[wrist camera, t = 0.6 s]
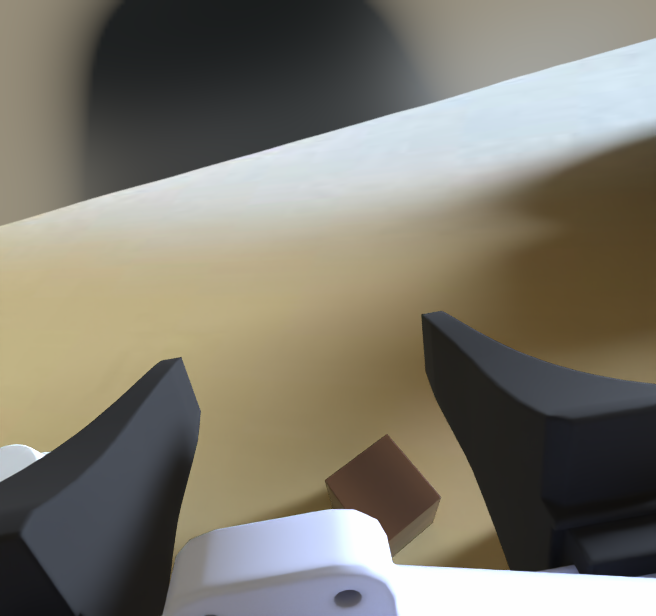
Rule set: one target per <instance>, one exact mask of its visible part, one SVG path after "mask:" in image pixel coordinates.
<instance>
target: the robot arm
mask: <svg viewBox="0 0 656 616" xmlns="http://www.w3.org/2000/svg"><path fill="white" fill-rule="evenodd" d="M421 316H422V330H423V343H424V357H425V370H426V374H427V377H428V380H429V382H430V385H431V388H432V391H433V393H434V396H435V399H436V401H437V403H438V405H439V406H440V408H441V410H442V412H443V414H444V416H445V418H446V420H447V422H448V424H449V425H450V427H451V429H452V431H453V433H454V435H455V437H456V439H457V440H458V442H459V444H460V446H461V448H462V450H463V452H464V454H465V455H466V458H467V460H468V462H469V464H470V466H471V468H472V470H473V473H474V475H475V478H476V480H477V483H478V485H479V488H480V490H481V493H482V495H483V498H484V500H485V503H486V506H487V508H488V511H489V514H490V516H491V519H492V522H493V524H494V527H495V530H496V532H497V535H498V538H499V541H500V543H501V546H502V549H503V552H504V554H505V557H506V560H507V563H508V566H509V568H510V570H491V569H472V568H452V567H433V566H414V565H395V564H394V563H393V562H392V558H391V553H390V549H389V544H388V539H387V535H386V534H385V532H384V530H383V529H382V527H381V525H380V524H379V522H378V520H377V519H374V518H372V517H370V516H368V515H366V514H363V513H361V512H359V511H357V510H354V509H327V510H322V511H316V512H311V513H305V514H299V515H294V516H288V517H283V518H277V519H271V520H266V521H260V522H255V523H249V524H243V525H238V526H232V527H227V528H221V529H216V530H213V531H210V532H208V533H205V534H203V535H200V536H198V537H195V538H193V539H190V540H189V541H188V542H187V543H186V545H185V546H184V547H183V548H182V549H181V550H180V552H179V553H178V554H177V555H176V558H175V563H174V567H173V571H172V576H171V580H170V574H171V566H172V557H173V550H174V543H175V536H176V529H177V522H178V518H179V513H180V508H181V504H182V500H183V497H184V493H185V489H186V485H187V481H188V477H189V474H190V470H191V466H192V462H193V458H194V454H195V450H196V446H197V442H198V434H199V425H200V414H201V411H200V408H199V405H198V403H197V400H196V397H195V394H194V391H193V389H192V386H191V383H190V380H189V377H188V375H187V372H186V369H185V366H184V364H183V361H182V358H181V357H180V358H174V359H168V360H163V361H160V362H159V363H157V364H156V365H155V366H154V367H153V368H151V369H150V370H149V371H148V372H147V373H146V374H145V375H144V376H143V377H142V378H141V379H140V380H138V381H137V382H136V383H135V384H134V385H133V386H132V387H131V388H130V389H129V390H128V391H127V392H126V393H124V394H123V395H122V396H121V397H120V398H119V399H118V400H117V401H116V402H115V403H113V404H112V405H111V406H110V407H109V408H108V409H106V410H105V411H104V412H103V413H102V414H101V415H99V416H98V417H97V418H96V419H95V420H94V421H92V422H91V423H90V424H89V425H87V426H86V427H85V428H84V429H82V430H81V431H80V432H78V433H77V434H76V435H74V436H73V437H71V438H70V439H69V440H67V441H66V442H64V443H63V444H62V445H60V446H59V447H57V448H56V449H54V450H53V451H51V452H50V453H48V454H46V455H45V456H43V457H42V458H40V459H38V460H37V461H35V462H34V463H32V464H30V465H29V466H27V467H26V468H24V469H22V470H21V471H19V472H17V473H15V474H14V475H12V476H10V477H8V478H6V479H5V480H3V481H1V482H0V616H656V384H651V383H642V382H634V381H626V380H620V379H614V378H609V377H604V376H598V375H594V374H589V373H585V372H580V371H577V370H573V369H569V368H566V367H562V366H558V365H555V364H552V363H549V362H546V361H543V360H540V359H537V358H534V357H532V356H529V355H526V354H524V353H521V352H519V351H516V350H514V349H512V348H510V347H508V346H506V345H503V344H501V343H499V342H497V341H495V340H493V339H491V338H489V337H487V336H485V335H484V334H482V333H480V332H478V331H476V330H474V329H473V328H471V327H469V326H468V325H466V324H464V323H462V322H461V321H459V320H457V319H456V318H454V317H452V316H450V315H449V314H447V313H445V312H443V311H438V312H432V313H427V314H421ZM169 583H170V585H169Z"/></svg>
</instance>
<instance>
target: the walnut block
mask: <svg viewBox="0 0 656 616" xmlns="http://www.w3.org/2000/svg"><path fill="white" fill-rule="evenodd" d="M325 483H326V487H327V490H328V494H329V497H330V501H331V504H332V508H333V509H354V510H357V511H359V512H361V513H363V514H366V515H368V516H370V517H372V518H374V519H377V520H378V522H379V524H380V525H381V527H382V529H383V530H384V532H385V534H386V535H387V539H388V544H389V549H390V553H391V558H392V557H393V556H394V555H396V554H397V553H398V552H399V551H400V550H401V549H403V548H404V547H405V546H406V545H407V544H408V543H410V542H411V541H412V540H413V539H414V538H415V537H417V536H418V535H419V534H420V533H421V532H423V531H424V530H425V529H426V528H427V527H428V526H430V525H431V524H432V523H433V520H434V517H435V514H436V511H437V508H438V505H439V502H440V499H441V496H440V495H439V494H438V493H437V492H436V491H435V489H434V488H433V487H432V486H431V485H430V484H429V482H428V481H427V480H426V479H425V478H424V477H423V475H422V474H421V473H420V472H419V471H418V469H417V468H416V467H415V466H414V465H413V464H412V462H411V461H410V460H409V459H408V458H407V457H406V455H405V454H404V453H403V452H402V451H401V450H400V448H399V447H398V446H397V445H396V444H395V443H394V441H393V440H392V439H391V438H390V437H389V436H388V434H386V435H385V436H384V437H382V438H381V439H379V440H378V441H377V442H375V443H374V444H373V445H371V446H370V447H369V448H367V449H366V450H365V451H363V452H362V453H361V454H359V455H358V456H357V457H355V458H354V459H353V460H351V461H350V462H349V463H347V464H346V465H345V466H343V467H342V468H341V469H339V470H338V471H337V472H335V473H334V474H333V475H331V476H330V477H329V478H327V479H326V480H325Z"/></svg>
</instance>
